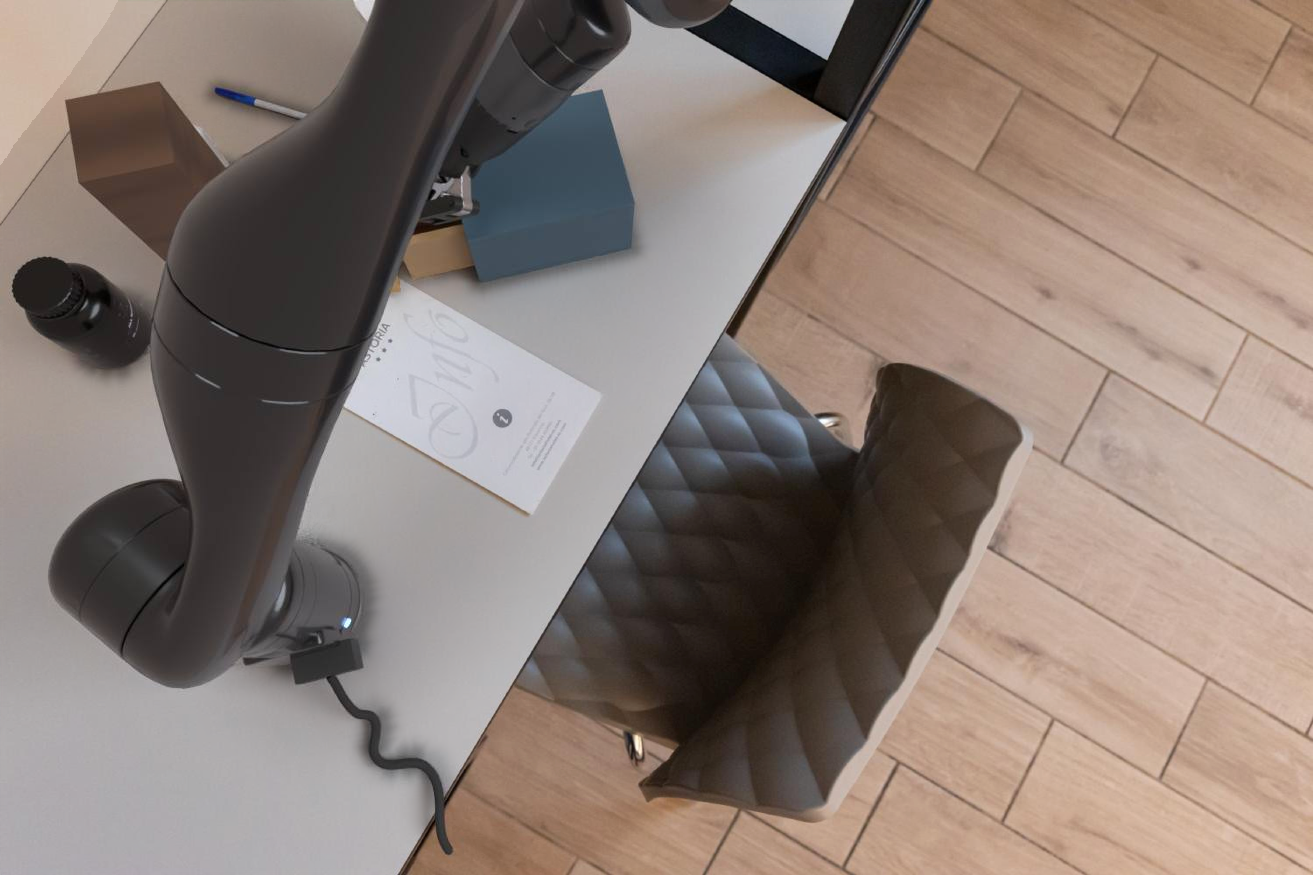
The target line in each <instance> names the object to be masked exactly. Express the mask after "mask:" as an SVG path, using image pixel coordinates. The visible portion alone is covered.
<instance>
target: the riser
mask: <svg viewBox="0 0 1313 875" xmlns="http://www.w3.org/2000/svg"><path fill="white" fill-rule="evenodd" d="M64 102H65V109H66V115H67V120H68V127H69V128H68V129H69V133H70V139H71V140H70V141H71V145H72V152H73V159H74V165H75V172H76V176H77V183H78V184H79V185H80V186H81V187H82V188H83V189H84V190H86V191H87V192H88V193H89V194H90V195H91V196H92V197H93V198H94V199H95V200H97V201H98V203H100V204H101V205H102V206H103V207H104V208H106V209H107V211H108V212H110V213H111V214H112V215H113V216H114V217H115V218H117V220H119V221H120V222H121V223H122V224H123V225H124V226H125V227H126V228H128V230H130V231H131V232H132V233H133V234H134V235H135V236H136V237H137V238H139V239H140V240H141V241H142V242H143V243H144V244H145V245H146V246H147V247H149V248H150V250H151V251H153V252H154V253H155V254H156V255H157V256H158V257H159V258H161V259H162V260H163V261H164V262H166V258H167V254H168V249H169V246H170V242H171V239H172V235H173V232H174V229H175V226H176V223H177V221H178V219H179V217H180V214H181V213H182V211H183V210H184V208H185V207H186V205H187V204H188V203H189V201H190V200H191V199H192V197H193V196H194V194H195V193H196V192H197V191H198V190H199V189H200V188H201V187H202V186H203V185H204V184H205V183H207V182H208V181H209V180H210V179H211V178H212V177H214V176H215V175H216V174H218V173H219V172H221V171H222V170H223V169H225V168H226V167H225V166H224V165H223V164H222V162H221V161H220V160H219V158H218V157H217V156H216V154H215V153H214V152H213V151H212V149H211V148H210V147H209V145H208V144H207V143H206V141H205V140H204V139H203V137H202V136H201V135H200V134H199V132H198V131H197V130H196V128H195V127H194V126H193V125H194V124H193V123H192V122H191V121H190V119H189V118H188V117H187V115H186V114H185V113H184V111H183V110H182V109H181V108H180V106H179V105H178V104H177V102H176V101H175V100H174V98H173V97H172V95H171V94H170V93H169V92H168V91H167V89H166V88H165V86H164V85H163V84H162V83H161V81H159V80H157V81H153V82H149V83H143V84H142V83H141V84H137V85H133V86H128V87H123V88H118V89H112V90H107V91H103V92H97V93H93V94H88V95H83V96H78V97H73V98H67V99H64Z"/></svg>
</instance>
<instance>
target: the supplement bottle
mask: <svg viewBox="0 0 1313 875" xmlns="http://www.w3.org/2000/svg"><path fill="white" fill-rule="evenodd" d="M13 277H14V278H12V283H11V292H12V298H14V301H15V302H16V303H17V304H18V306H19V307H20V308H21V309H23V310H24V314H25V317H26V319H27V322H28V323H29V325H30V326H31V327H32V328H33V330H34V331H36V332H37V333H38V334H39V335H41V336H42V337H43V338H46V339H47V340H49V341H50V342H52V343H54V344H55V345H57V346H59V347H60V348H62V349H64V350H65V351H67V352H68V353H71V354H72V355H74V356H75V357H77V358H78V359H81V360H82V361H84V362H86V363H88V364H89V365H91V366H94V367H96V368H99V369H104V370H116V369H121V368H125V367H127V366H129V365H132V364H133V363H135V362H136V361H137V360H139V359H140V358H141V357H142V356H143V355H144V353H145V352H146V351H147V350H148V348H149V347H150V346H149V340H150V328H151V322H152V319H151V317H150V315H149V314H148V312H147V310H146V309H145V308H144V307H143V306H142V305H141V304H140V303H139V302H138V301H136V300H135V299H133V298H132V297H131V296H130V295H128V294H127V293H126V292H125V291H124V290H122V289H121V288H119V286H117V285H116V284H114V282H112V281H110V279H108V278H107V277H106V276H104V275H103V274H102V273H101V272H100V271H98V270H97V269H95V268H94V267H91V266H89V265H87V264H84V263H79V262H66V261H65V260H63V259H59V258H58V257H53V256H45V255H44V256H37V257H36V258H32V259H30V260H28V261H26V262H25V263H24V264H22V265H21V266H20V268H19V269H17V271H16V273H15V274H14V276H13Z"/></svg>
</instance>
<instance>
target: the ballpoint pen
mask: <svg viewBox="0 0 1313 875" xmlns="http://www.w3.org/2000/svg"><path fill="white" fill-rule="evenodd" d="M214 93H215V94H217V95H219V96H222V97H224V98H227V99H230V100H233V101H237V102H240V103H244V104H247V105H250V106H254V107H258V108H262V109H266V110H269V111H272V112H276V113H279V114H282V115H286V116H289V117H292V118H296V119H299V120H301V119H302V118H303V117H305V116H306V115H308V114H309V113H305V112H302V111H299V110H295V109H292V108H289V107H286V106H282V105H279V104H275V103H272V102H268V101H266V100H261V99H259V98H256V97H253V96H250V95H247V94H243V93H240V92H237V91H233V90H231V89H226V88H222V87H217V86H215V87H214Z"/></svg>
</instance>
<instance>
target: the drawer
mask: <svg viewBox="0 0 1313 875" xmlns="http://www.w3.org/2000/svg"><path fill="white" fill-rule="evenodd" d="M451 187H452V186H451ZM451 187H450V188H451ZM445 192H446V191H445ZM440 194H441V193H440ZM440 194H439V196H438V198H441V196H440ZM402 262H404V264H405V267H406V269H407V271H408V273H409V274H410V276H411V279H412V280H416V279H417V280H418V279H421V278H425V277H431V276H434V275H438V274H443V273H447V272H451V271H456V270H460V269H465V268H468V267H475V265H474V262H473V259H472V256H471V253H470V250H469V247H468V244H467V240H466V236H465V232H464V228H463V224H462V220H461V219H460V220H456V221H452V222H447V223H444V224H440V225H436V226H431V227H427V228H422V229H418V230H414V233H413V235H412V238H411V240H410V242H409V245H408V247H407V250H406V252H405V255H404V257H403V260H402ZM401 291H402V289H401V284H400V280H399V276H398V275H397V276H396V279H395V281H394V284H393V287H392V290H391V293H390V294H394V293H399V292H401Z"/></svg>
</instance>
